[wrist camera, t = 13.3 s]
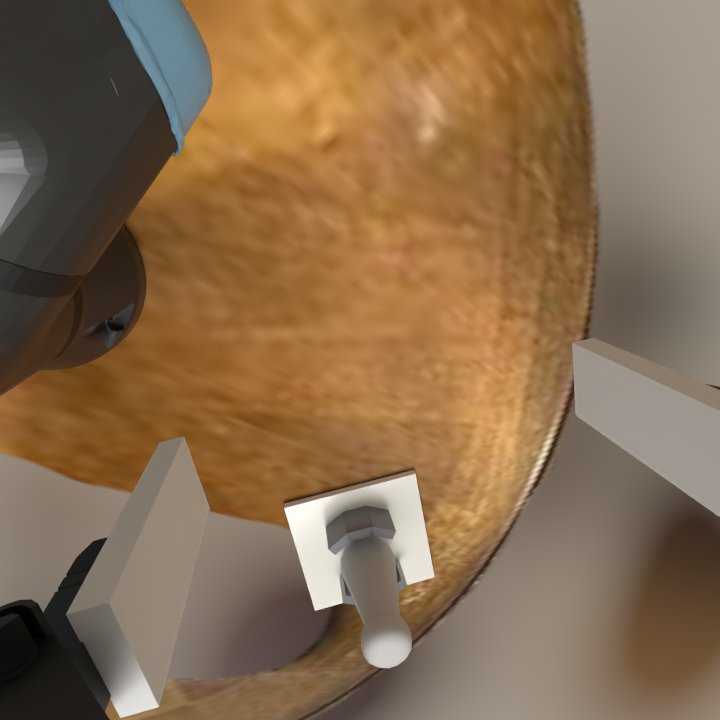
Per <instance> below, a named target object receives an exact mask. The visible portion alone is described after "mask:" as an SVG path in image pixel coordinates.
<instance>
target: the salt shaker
mask: <svg viewBox="0 0 720 720" xmlns="http://www.w3.org/2000/svg"><path fill="white" fill-rule="evenodd" d="M341 574H342V576H343V578H344V580H345V583H346V585H347V587H348V589H349V592H350V594H351V596H352V598H353V601H354V603H355V605H356V607H357V610H358V612H359V614H360V616H361V619H362V621H363V623H364V628H363V630H362V632H361V645H362V651H363V654H364V656H365V658H366V659H367V661H368V662H369V663H370V664H372V665H374V666H376V667H379V668H390V667H393V666H396V665H398V664H400V663H401V662H403V661H404V660H405V659H406V658H407V656H408V654H409V653H410V651H411V645H412V639H411V633H410V630H409V628H408V626H407V624H406V623H405V621H404V620H403V619H402V618H401V617H400V610H399V598H398V585H397V572H396V560H395V555H394V553H393V551H392V549H391V548H390V546H389V544H387V543H386V542H384V541H383V540H381V539H380V538H378V537H377V536H368V537H364V538H361V539H357V540H353V541H351V542H350V543H349V544H348V545H347V546H346V547H345V550H344V552H343V554H342V557H341Z"/></svg>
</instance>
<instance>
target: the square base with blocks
mask: <svg viewBox="0 0 720 720" xmlns="http://www.w3.org/2000/svg"><path fill="white" fill-rule="evenodd" d="M284 509H285V512H286V516H287V519H288V522H289V526H290V529H291V532H292V536H293V539H294V542H295V545H296V548H297V552H298V555H299V559H300V562H301V565H302V568H303V572H304V575H305V579H306V582H307V585H308V589H309V592H310V595H311V599H312V602H313V605H314V609H315V611H316V610H319V609H323V608H326V607H330V606H334V605H337V604H341V603H346V604H352V605H355V603H354V601H353V598H352V596H351V594H350V592H349V589H348V587H347V585H346V583H345V580H344V578H343V576H342V574H341V557H342V554H343V552H344V550H345V547H346V546H347V545H348V544H349V543H350V542H351V541H353V540H357V539H361V538H364V537H368V536H377V537H378V538H380V539H381V540H383V541H384V542H386V543H387V544H389V546H390V548H391V549H392V551H393V553H394V555H395V560H396V572H397V585H398V592H399V591H401V590H402V589H403V588H404V587H406V586H407V585H408V584H412V583H415V582H419V581H423V580H426V579H430V578H433V577H434V572H433V566H432V561H431V555H430V550H429V544H428V539H427V534H426V528H425V523H424V517H423V512H422V506H421V501H420V495H419V490H418V485H417V479H416V474H415V472H414V470H411V471H407V472H403V473H399V474H396V475H392V476H388V477H384V478H380V479H376V480H373V481H369V482H365V483H361V484H357V485H353V486H350V487H346V488H342V489H338V490H334V491H330V492H327V493H323V494H319V495H315V496H311V497H307V498H304V499H300V500H296V501H292V502H288V503H284Z"/></svg>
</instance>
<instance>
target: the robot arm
mask: <svg viewBox="0 0 720 720" xmlns="http://www.w3.org/2000/svg"><path fill="white" fill-rule="evenodd" d="M211 90H212V67H211V61H210V57H209V53H208V51H207V48H206V46H205V43H204V41H203V39H202V37H201V35H200V32H199V31H198V29H197V27H196V25H195V23H194V21H193V20H192V18H191V16H190V15H189V13H188V11H187V10H186V8H185V6H184V5H183V3H182V1H181V0H0V396H1V395H2V394H4V393H5V392H7V391H8V390H10V389H11V388H13V387H14V386H16V385H18V384H19V383H21V382H22V381H24V380H25V379H27V378H28V377H30V376H31V375H33V374H34V373H36V372H37V371H39V370H58V369H66V368H72V367H76V366H79V365H82V364H85V363H88V362H91V361H93V360H95V359H97V358H99V357H101V356H102V355H104V354H106V353H107V352H108V351H110V350H111V349H112V348H114V347H115V346H116V345H117V344H119V343H120V342H121V341H122V340H123V339H124V338H125V337H126V336H127V335H128V334H129V333H130V331H131V330H132V329H133V327H134V326H135V324H136V322H137V321H138V319H139V316H140V314H141V311H142V308H143V305H144V300H145V293H146V277H145V270H144V265H143V261H142V258H141V255H140V252H139V250H138V248H137V246H136V243H135V242H134V240H133V238H132V236H131V235H130V233H129V232H128V230H127V229H126V227H125V226H124V225H123V224H124V223H125V221H126V220H127V218H128V217H129V216H130V214H131V213H132V211H133V210H134V208H135V207H136V206H137V204H138V203H139V201H140V200H141V198H142V197H143V195H144V194H145V193H146V191H147V190H148V188H149V187H150V185H151V184H152V183H153V181H154V180H155V178H156V177H157V175H158V174H159V173H160V171H161V170H162V168H163V167H164V165H165V164H166V163H167V161H168V160H169V158H170V157H171V155H174V156H177V155H178V154H179V153H180V152H181V151H182V149H183V145H184V139H185V136H186V134H187V132H188V131H189V129H190V128H191V126H192V125H193V123H194V121H195V120H196V118H197V117H198V115H199V113H200V112H201V110H202V109H203V107H204V106H205V104H206V102H207V101H208V99H209V96H210V93H211ZM572 345H573V368H574V390H575V412H576V416H577V417H579V418H580V419H582V420H583V421H584V422H586V423H587V424H589V425H590V426H592V427H593V428H594V429H596V430H597V431H599V432H600V433H601V434H603V435H604V436H606V437H607V438H609V439H610V440H611V441H613V442H614V443H616V444H617V445H618V446H620V447H621V448H623V449H624V450H626V451H627V452H628V453H630V454H631V455H633V456H634V457H636V458H637V459H638V460H640V461H641V462H643V463H644V464H646V465H647V466H648V467H650V468H651V469H652V470H654V471H655V472H657V473H658V474H660V475H661V476H662V477H664V478H665V479H667V480H668V481H669V482H671V483H672V484H674V485H675V486H677V487H678V488H679V489H681V490H682V491H684V492H685V493H686V494H688V495H689V496H691V497H692V498H694V499H695V500H696V501H698V502H699V503H701V504H702V505H703V506H705V507H706V508H708V509H709V510H711V511H712V512H713V513H715V514H716V515H718V516H719V517H720V387H717V386H712V385H708V384H704V383H701V382H699V381H697V380H694V379H692V378H689V377H687V376H684V375H682V374H680V373H677V372H675V371H672V370H670V369H668V368H665V367H663V366H660V365H658V364H656V363H653V362H651V361H648V360H646V359H643V358H641V357H638V356H636V355H634V354H631V353H629V352H626V351H624V350H622V349H619V348H617V347H614V346H612V345H610V344H607V343H605V342H602V341H600V340H597V339H595V338H591V339H587V340H582V341H578V342H574V343H572ZM209 510H210V508H209V505H208V502H207V499H206V496H205V494H204V491H203V488H202V485H201V483H200V480H199V477H198V474H197V471H196V469H195V466H194V463H193V460H192V457H191V455H190V452H189V449H188V446H187V444H186V441H185V438H184V437H180V438H176V439H172V440H168V441H164V442H160V443H159V444H158V446H157V448H156V450H155V452H154V454H153V455H152V457H151V459H150V461H149V463H148V465H147V466H146V468H145V470H144V472H143V474H142V476H141V477H140V479H139V481H138V483H137V485H136V487H135V488H134V490H133V492H132V494H131V496H130V498H129V499H128V501H127V503H126V505H125V507H124V509H123V510H122V512H121V514H120V516H119V518H118V520H117V522H116V523H115V525H114V527H113V529H112V531H111V532H110V534H109V536H108V538H104V539H100V540H96V541H93V542H92V543H91V544H90V545H89V546H88V547H87V548H86V549H85V550H84V551H83V552H82V553H81V554H80V555H79V556H78V557H77V558H76V559H75V561H74V563H73V564H72V566H71V568H70V569H69V571H68V573H67V577H65V578H64V579H63V581H62V582H61V584H60V586H59V588H58V592H55V594H54V596H53V598H52V599H51V601H50V602H49V604H48V606H47V608H46V609H45V611H44V612H42V610H41V608H40V606H39V605H38V603H36V602H34V601H33V600H18V601H15V602H12V603H9V604H6V605H4V606H2V607H0V720H110V719H109V718H108V716H107V715H106V713H105V710H106V707H107V705H108V702H109V699H111V701H112V703H113V705H114V707H115V709H116V710H117V712H118V714H119V716H120V718H122V717H126V716H129V715H132V714H136V713H139V712H143V711H146V710H150V709H153V708H157V707H159V705H160V701H161V697H162V693H163V690H164V686H165V682H166V678H167V674H168V670H169V666H170V661H171V658H172V654H173V650H174V646H175V643H176V639H177V635H178V631H179V626H180V623H181V619H182V615H183V611H184V607H185V603H186V599H187V596H188V592H189V588H190V584H191V580H192V576H193V572H194V568H195V564H196V560H197V557H198V553H199V549H200V544H201V540H202V537H203V533H204V529H205V525H206V521H207V517H208V514H209Z"/></svg>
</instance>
